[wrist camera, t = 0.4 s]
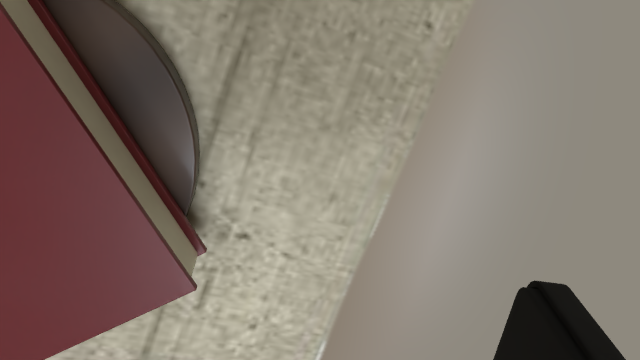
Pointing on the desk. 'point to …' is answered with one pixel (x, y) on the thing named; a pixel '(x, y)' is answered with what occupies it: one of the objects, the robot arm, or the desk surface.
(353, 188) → the desk surface
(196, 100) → the desk surface
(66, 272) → the book
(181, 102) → the disc
